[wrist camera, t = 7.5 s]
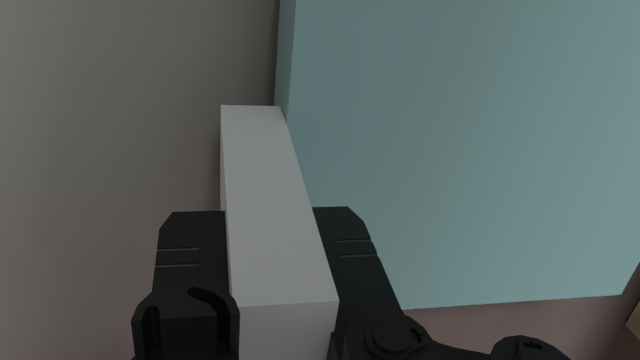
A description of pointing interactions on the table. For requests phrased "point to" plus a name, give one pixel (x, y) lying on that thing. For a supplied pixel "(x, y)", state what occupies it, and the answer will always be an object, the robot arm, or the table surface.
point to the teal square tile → (473, 139)
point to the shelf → (635, 321)
